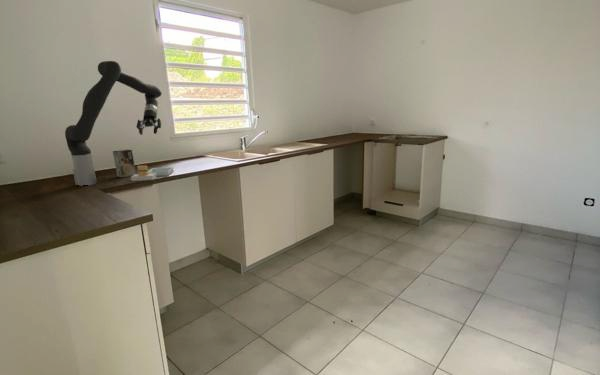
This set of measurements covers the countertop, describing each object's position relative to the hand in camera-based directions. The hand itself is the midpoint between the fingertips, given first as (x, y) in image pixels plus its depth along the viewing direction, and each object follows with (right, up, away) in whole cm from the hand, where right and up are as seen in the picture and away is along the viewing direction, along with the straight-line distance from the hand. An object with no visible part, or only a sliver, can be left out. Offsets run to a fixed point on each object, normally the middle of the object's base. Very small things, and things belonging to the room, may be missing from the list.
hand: (147, 133), depth 202 cm
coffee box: (-15, -26, +3) cm, 30 cm away
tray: (+6, -25, +4) cm, 26 cm away
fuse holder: (+2, -29, -9) cm, 30 cm away
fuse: (+2, -29, -9) cm, 30 cm away
